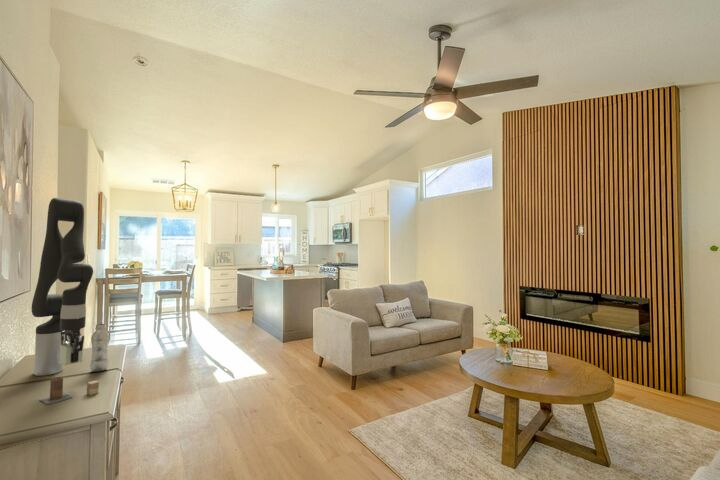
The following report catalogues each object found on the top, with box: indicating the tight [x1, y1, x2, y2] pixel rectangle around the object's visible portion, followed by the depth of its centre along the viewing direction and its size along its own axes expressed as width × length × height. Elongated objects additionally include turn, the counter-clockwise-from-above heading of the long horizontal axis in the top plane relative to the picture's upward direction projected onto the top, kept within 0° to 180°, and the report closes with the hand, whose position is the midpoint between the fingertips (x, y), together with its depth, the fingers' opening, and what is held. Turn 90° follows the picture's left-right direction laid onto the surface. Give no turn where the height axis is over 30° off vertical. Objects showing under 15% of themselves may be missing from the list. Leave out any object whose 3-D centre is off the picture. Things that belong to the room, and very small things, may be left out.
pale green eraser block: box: [59, 343, 84, 366], centre depth 133 cm, size 5×5×7 cm
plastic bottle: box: [89, 323, 110, 373], centre depth 152 cm, size 6×7×20 cm
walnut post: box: [38, 376, 74, 406], centre depth 123 cm, size 7×7×7 cm
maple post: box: [86, 380, 100, 396], centre depth 128 cm, size 3×3×4 cm
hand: (70, 360), depth 133 cm, fingers closed on pale green eraser block, 5 cm apart
